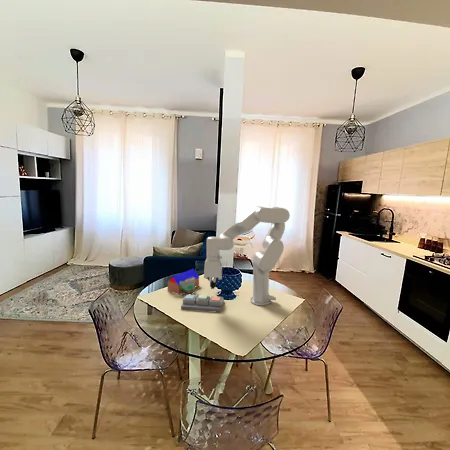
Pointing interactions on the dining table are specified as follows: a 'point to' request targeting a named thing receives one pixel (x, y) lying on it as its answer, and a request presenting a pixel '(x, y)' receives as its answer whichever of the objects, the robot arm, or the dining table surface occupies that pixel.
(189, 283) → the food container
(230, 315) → the dining table surface
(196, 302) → the button panel
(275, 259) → the robot arm
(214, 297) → the button terracotta
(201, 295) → the button sage
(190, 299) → the button slate
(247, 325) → the dining table surface
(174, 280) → the house
